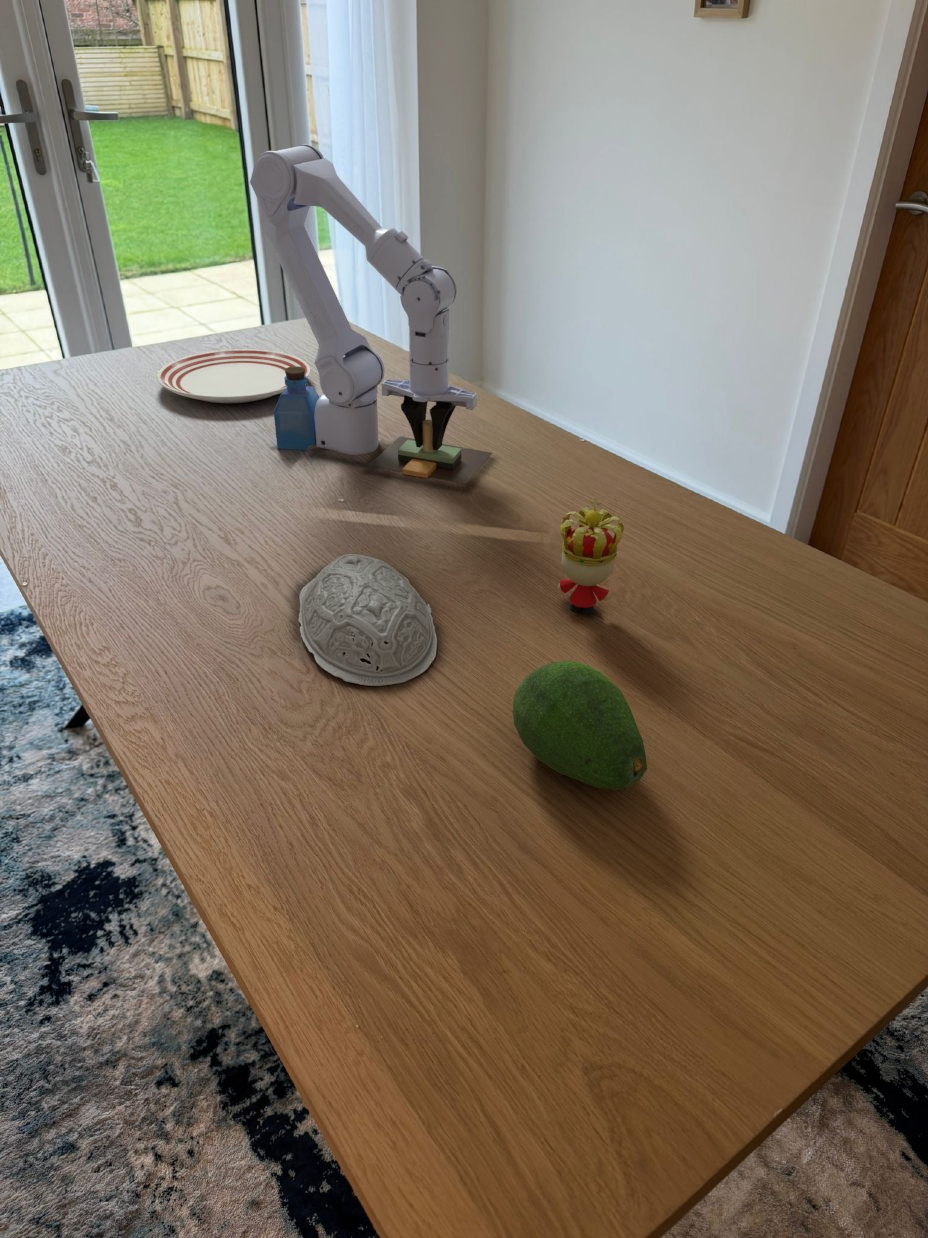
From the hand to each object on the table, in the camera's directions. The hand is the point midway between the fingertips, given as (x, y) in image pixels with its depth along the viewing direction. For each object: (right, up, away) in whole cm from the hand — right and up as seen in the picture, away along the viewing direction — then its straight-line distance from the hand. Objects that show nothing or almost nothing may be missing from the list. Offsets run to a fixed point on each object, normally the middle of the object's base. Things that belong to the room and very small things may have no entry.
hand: (428, 446), depth 137 cm
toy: (+20, -26, -29) cm, 43 cm away
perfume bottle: (-21, +2, +9) cm, 23 cm away
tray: (0, -2, +3) cm, 4 cm away
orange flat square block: (-1, -4, -1) cm, 4 cm away
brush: (0, -2, +2) cm, 2 cm away
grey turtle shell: (-6, -27, -32) cm, 42 cm away
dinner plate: (-37, +16, +29) cm, 49 cm away
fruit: (+16, -41, -51) cm, 67 cm away
